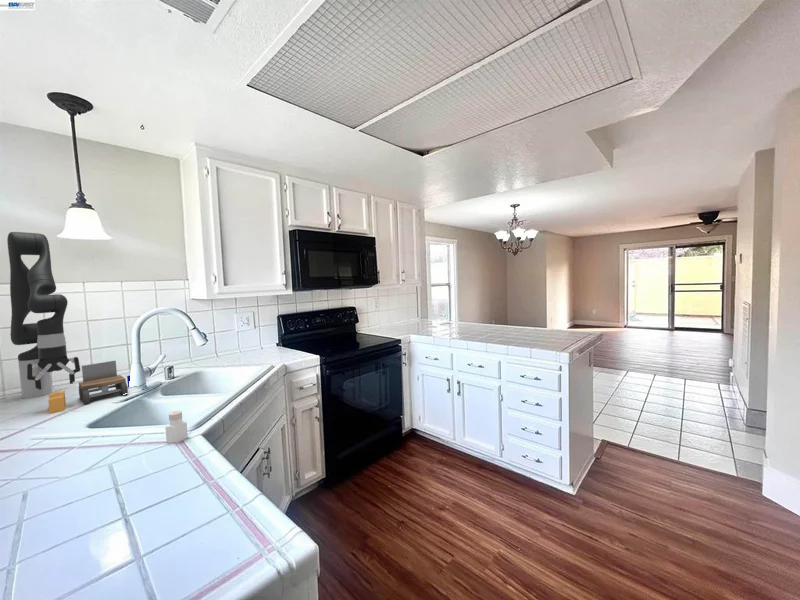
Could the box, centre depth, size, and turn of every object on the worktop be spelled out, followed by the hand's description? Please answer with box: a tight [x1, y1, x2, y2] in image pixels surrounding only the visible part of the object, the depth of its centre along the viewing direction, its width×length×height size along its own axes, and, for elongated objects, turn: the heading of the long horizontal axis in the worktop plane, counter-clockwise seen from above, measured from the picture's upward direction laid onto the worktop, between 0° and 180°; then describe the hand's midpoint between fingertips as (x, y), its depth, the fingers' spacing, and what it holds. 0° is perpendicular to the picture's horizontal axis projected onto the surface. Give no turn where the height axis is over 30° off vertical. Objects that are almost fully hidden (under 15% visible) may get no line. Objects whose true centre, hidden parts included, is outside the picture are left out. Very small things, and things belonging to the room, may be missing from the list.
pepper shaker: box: [165, 410, 189, 444], centre depth 95 cm, size 4×4×10 cm
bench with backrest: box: [78, 360, 129, 405], centre depth 141 cm, size 16×14×14 cm
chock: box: [47, 390, 67, 415], centre depth 129 cm, size 4×12×6 cm, turn 45°
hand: (55, 386), depth 128 cm, fingers open, 8 cm apart
